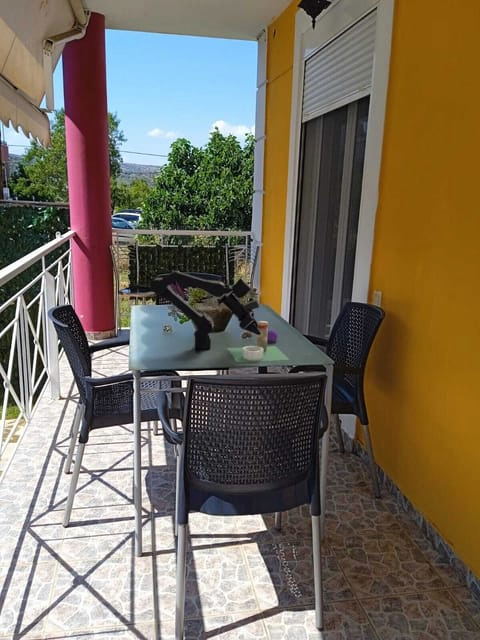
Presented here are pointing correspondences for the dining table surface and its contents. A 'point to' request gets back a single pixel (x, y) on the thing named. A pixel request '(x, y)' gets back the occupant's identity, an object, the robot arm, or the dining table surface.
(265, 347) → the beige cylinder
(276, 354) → the putting mat
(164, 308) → the dining table surface
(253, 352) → the cup
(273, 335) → the purple faceted ball
